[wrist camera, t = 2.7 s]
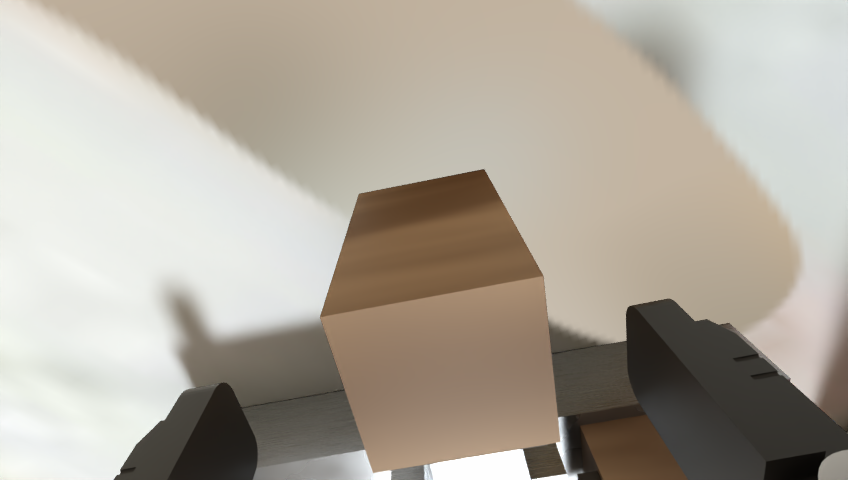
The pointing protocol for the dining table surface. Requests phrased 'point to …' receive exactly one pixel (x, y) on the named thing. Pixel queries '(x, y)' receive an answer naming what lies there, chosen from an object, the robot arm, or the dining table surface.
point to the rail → (478, 476)
